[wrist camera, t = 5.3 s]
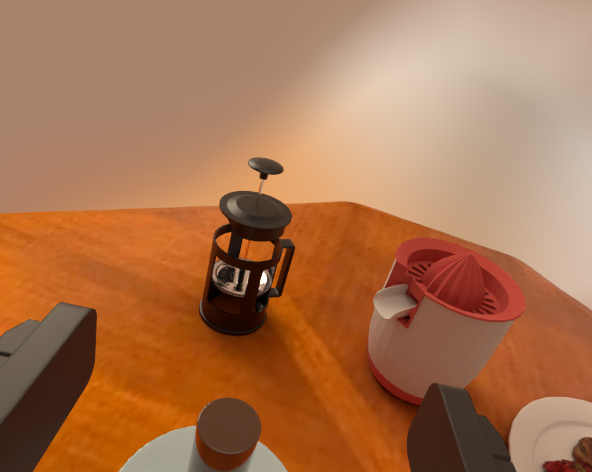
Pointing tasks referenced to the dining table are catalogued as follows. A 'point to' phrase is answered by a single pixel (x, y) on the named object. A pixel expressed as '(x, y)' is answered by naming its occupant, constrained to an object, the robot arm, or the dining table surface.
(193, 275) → the dining table surface
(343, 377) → the dining table surface
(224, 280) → the french press
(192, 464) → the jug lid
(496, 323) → the citrus juicer
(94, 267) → the dining table surface
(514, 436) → the plated food
